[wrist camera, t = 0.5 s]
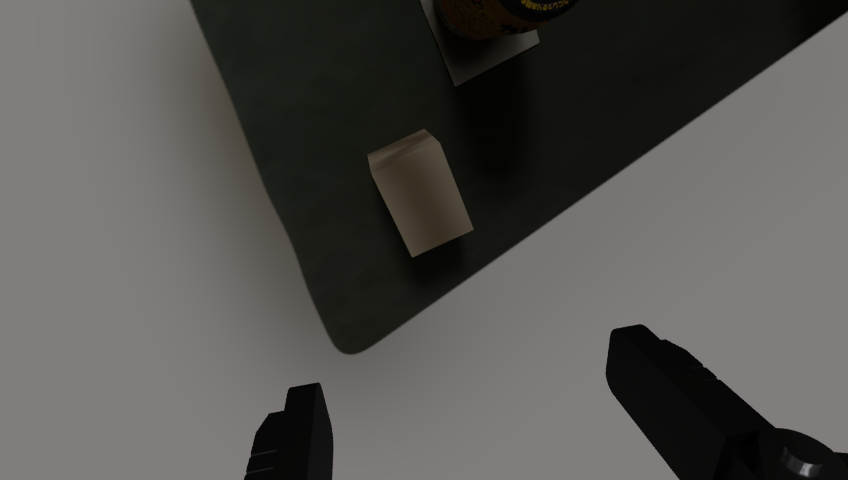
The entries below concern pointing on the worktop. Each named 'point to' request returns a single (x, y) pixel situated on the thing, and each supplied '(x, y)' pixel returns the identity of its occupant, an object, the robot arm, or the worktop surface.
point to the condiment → (487, 30)
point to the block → (420, 192)
